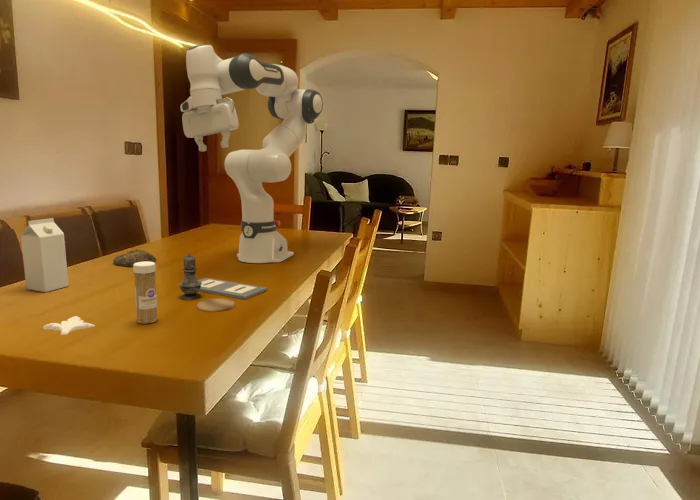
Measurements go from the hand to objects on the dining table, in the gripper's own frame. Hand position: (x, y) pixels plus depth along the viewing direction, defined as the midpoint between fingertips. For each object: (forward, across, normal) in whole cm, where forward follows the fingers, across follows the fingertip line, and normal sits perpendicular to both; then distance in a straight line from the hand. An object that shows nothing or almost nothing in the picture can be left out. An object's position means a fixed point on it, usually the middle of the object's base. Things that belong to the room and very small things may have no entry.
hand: (213, 149), depth 145 cm
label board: (+40, -9, +12) cm, 43 cm away
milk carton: (+34, +29, +40) cm, 60 cm away
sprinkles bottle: (+40, -15, +41) cm, 59 cm away
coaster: (+41, -19, +24) cm, 51 cm away
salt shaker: (+40, -8, +22) cm, 46 cm away
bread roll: (+34, +38, +7) cm, 52 cm away
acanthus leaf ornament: (+39, -5, +53) cm, 66 cm away
